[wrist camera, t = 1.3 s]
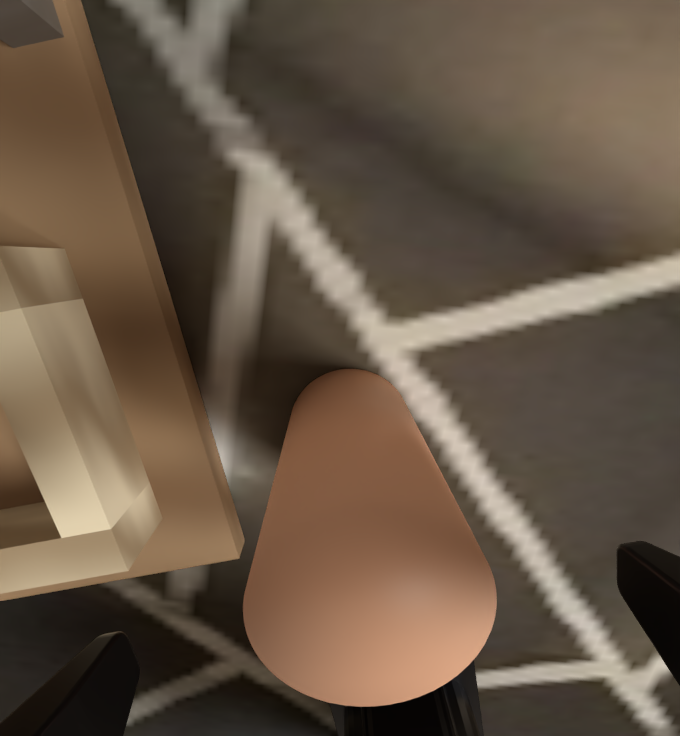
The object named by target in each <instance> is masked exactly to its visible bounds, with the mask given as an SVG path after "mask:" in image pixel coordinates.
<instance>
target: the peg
mask: <svg viewBox="0 0 680 736" xmlns="http://www.w3.org/2000/svg"><path fill="white" fill-rule="evenodd" d="M496 607H497V594H496V587H495V581H494V577H493V574H492V572H491V569H490V566H489V564H488V562H487V560H486V558H485V556H484V554H483V552H482V550H481V549H480V547H479V545H478V543H477V541H476V539H475V537H474V535H473V533H472V531H471V529H470V527H469V525H468V523H467V522H466V520H465V518H464V516H463V514H462V512H461V510H460V508H459V506H458V504H457V502H456V500H455V498H454V496H453V494H452V493H451V491H450V489H449V487H448V485H447V483H446V481H445V479H444V477H443V475H442V473H441V471H440V469H439V467H438V466H437V464H436V462H435V460H434V458H433V456H432V454H431V452H430V450H429V448H428V446H427V444H426V442H425V440H424V438H423V437H422V435H421V433H420V431H419V429H418V427H417V425H416V423H415V421H414V419H413V417H412V415H411V413H410V411H409V409H408V408H407V406H406V404H405V402H404V400H403V398H402V396H401V395H400V393H399V392H398V391H397V389H396V388H395V387H394V386H393V385H392V384H391V383H390V382H388V381H387V380H386V379H384V378H382V377H381V376H379V375H377V374H375V373H372V372H369V371H365V370H360V369H340V370H335V371H332V372H329V373H326V374H324V375H322V376H320V377H318V378H316V379H315V380H314V381H312V382H311V383H310V384H308V385H307V386H306V387H305V388H304V390H303V391H302V392H301V393H300V395H299V396H298V398H297V400H296V401H295V404H294V406H293V409H292V413H291V416H290V420H289V424H288V428H287V432H286V436H285V439H284V443H283V447H282V451H281V455H280V459H279V462H278V466H277V470H276V474H275V478H274V482H273V485H272V489H271V493H270V497H269V501H268V505H267V508H266V512H265V516H264V520H263V524H262V528H261V531H260V535H259V539H258V543H257V547H256V551H255V554H254V558H253V562H252V566H251V570H250V574H249V577H248V581H247V585H246V589H245V593H244V601H243V617H244V624H245V629H246V633H247V636H248V638H249V641H250V643H251V645H252V648H253V649H254V651H255V652H256V654H257V656H258V657H259V659H260V660H261V661H262V662H263V664H264V665H265V666H266V667H267V669H269V670H270V671H271V672H272V673H273V674H274V675H275V676H276V677H277V678H278V679H280V680H281V681H283V682H284V683H285V684H287V685H288V686H290V687H292V688H293V689H295V690H297V691H299V692H301V693H303V694H305V695H308V696H310V697H313V698H315V699H318V700H322V701H325V702H329V703H334V704H339V705H345V706H358V707H368V706H382V705H391V704H395V703H400V702H405V701H408V700H411V699H414V698H417V697H420V696H422V695H425V694H427V693H429V692H432V691H434V690H436V689H437V688H439V687H441V686H443V685H444V684H446V683H448V682H449V681H450V680H452V679H453V678H455V677H456V676H457V675H459V674H460V673H461V672H462V671H463V670H464V669H465V668H466V667H467V666H468V665H469V664H470V663H471V662H472V661H473V660H474V658H475V657H476V656H477V655H478V654H479V652H480V650H481V649H482V647H483V646H484V644H485V643H486V641H487V638H488V636H489V634H490V632H491V629H492V626H493V623H494V619H495V614H496Z"/></svg>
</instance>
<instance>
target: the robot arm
mask: <svg viewBox="0 0 680 736" xmlns="http://www.w3.org/2000/svg"><path fill="white" fill-rule="evenodd" d="M616 557H617V585H618V588H619V591H620V593H621V595H622V597H623V599H624V600H625V602H626V603H627V605H628V606H629V608H630V610H631V611H632V613H633V614H634V616H635V617H636V619H637V620H638V622H639V624H640V625H641V627H642V628H643V630H644V631H645V633H646V634H647V636H648V637H649V639H650V641H651V642H652V644H653V645H654V647H655V648H656V650H657V651H658V653H659V655H660V656H661V658H662V659H663V661H664V662H665V664H666V665H667V667H668V669H669V670H670V672H671V673H672V675H673V676H674V678H675V679H676V681H677V682H678V684H679V685H680V557H679V556H677V555H674V554H672V553H670V552H668V551H665V550H663V549H661V548H659V547H657V546H654V545H652V544H650V543H647V542H644V541H636V542H630V543H624V544H621V545H619V546H618V548H617V552H616ZM139 673H140V668H139V663H138V660H137V658H136V655H135V653H134V650H133V648H132V646H131V643H130V641H129V639H128V636H127V635H126V634H125V633H124V632H121V631H118V632H112V633H107V634H103V635H100V636H98V637H97V638H96V639H94V640H93V641H92V642H91V643H90V644H89V645H88V646H87V647H85V648H84V649H83V650H82V651H81V652H80V653H79V654H78V655H76V656H75V657H74V658H73V659H72V660H71V661H70V662H69V663H67V664H66V665H65V666H64V667H63V668H62V669H61V670H60V671H58V672H57V673H56V674H55V675H54V676H53V677H52V678H51V679H49V680H48V681H47V682H46V683H45V684H44V685H43V686H42V687H41V688H39V689H38V690H37V691H36V692H35V693H34V694H33V695H32V696H30V697H29V698H28V699H27V700H26V701H25V702H24V703H23V704H21V705H20V706H19V707H18V708H17V709H16V710H15V711H14V712H12V713H11V714H10V715H9V716H8V717H7V718H6V719H5V720H3V721H2V722H1V723H0V736H123V734H124V731H125V727H126V723H127V720H128V716H129V713H130V709H131V705H132V702H133V698H134V695H135V691H136V687H137V684H138V680H139ZM330 707H331V710H332V714H333V718H334V721H335V725H336V729H337V732H338V736H484V734H483V726H482V719H481V711H480V704H479V696H478V689H477V681H476V674H475V666H474V660H473V661H472V662H471V663H470V664H469V665H468V666H467V667H466V668H465V669H464V670H463V671H462V672H461V673H460V674H459V675H457V676H456V677H455V678H453V679H452V680H450V681H449V682H448V683H446V684H444V685H443V686H441V687H439V688H437V689H436V690H434V691H432V692H429V693H427V694H425V695H422V696H420V697H417V698H414V699H411V700H408V701H405V702H400V703H395V704H391V705H382V706H368V707H358V706H345V705H339V704H334V703H330Z"/></svg>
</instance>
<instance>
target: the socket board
mask: <svg viewBox="0 0 680 736" xmlns="http://www.w3.org/2000/svg"><path fill="white" fill-rule="evenodd" d="M244 542H245V539H244V536H243V532H242V529H241V526H240V522H239V519H238V516H237V513H236V509H235V506H234V503H233V499H232V496H231V493H230V490H229V486H228V483H227V480H226V476H225V473H224V470H223V467H222V463H221V460H220V457H219V453H218V450H217V447H216V443H215V440H214V437H213V434H212V430H211V427H210V424H209V420H208V417H207V414H206V411H205V407H204V404H203V401H202V397H201V394H200V391H199V388H198V384H197V381H196V378H195V374H194V371H193V368H192V364H191V361H190V358H189V355H188V351H187V348H186V345H185V341H184V338H183V335H182V332H181V328H180V325H179V322H178V318H177V315H176V312H175V309H174V305H173V302H172V299H171V295H170V292H169V289H168V285H167V282H166V279H165V276H164V272H163V269H162V266H161V262H160V259H159V256H158V253H157V249H156V246H155V243H154V239H153V236H152V233H151V230H150V226H149V223H148V220H147V216H146V213H145V210H144V206H143V203H142V200H141V197H140V193H139V190H138V187H137V183H136V180H135V177H134V174H133V170H132V167H131V164H130V160H129V157H128V154H127V151H126V147H125V144H124V141H123V137H122V134H121V131H120V127H119V124H118V121H117V118H116V114H115V111H114V108H113V104H112V101H111V98H110V95H109V91H108V88H107V85H106V81H105V78H104V75H103V72H102V68H101V65H100V62H99V58H98V55H97V52H96V48H95V45H94V42H93V39H92V35H91V32H90V29H89V25H88V22H87V19H86V16H85V12H84V9H83V6H82V2H81V0H0V601H4V600H9V599H15V598H21V597H26V596H32V595H37V594H43V593H49V592H54V591H60V590H65V589H71V588H77V587H82V586H88V585H94V584H99V583H105V582H110V581H116V580H122V579H127V578H133V577H139V576H144V575H150V574H155V573H161V572H167V571H172V570H178V569H184V568H189V567H195V566H200V565H206V564H212V563H217V562H223V561H228V560H234V559H239V558H240V555H241V551H242V548H243V545H244Z"/></svg>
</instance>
